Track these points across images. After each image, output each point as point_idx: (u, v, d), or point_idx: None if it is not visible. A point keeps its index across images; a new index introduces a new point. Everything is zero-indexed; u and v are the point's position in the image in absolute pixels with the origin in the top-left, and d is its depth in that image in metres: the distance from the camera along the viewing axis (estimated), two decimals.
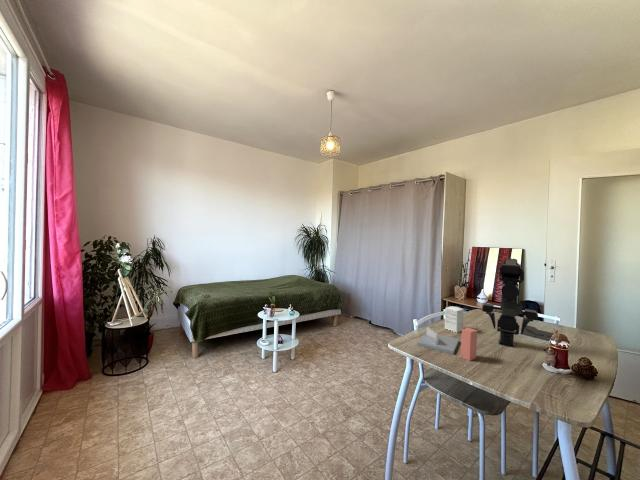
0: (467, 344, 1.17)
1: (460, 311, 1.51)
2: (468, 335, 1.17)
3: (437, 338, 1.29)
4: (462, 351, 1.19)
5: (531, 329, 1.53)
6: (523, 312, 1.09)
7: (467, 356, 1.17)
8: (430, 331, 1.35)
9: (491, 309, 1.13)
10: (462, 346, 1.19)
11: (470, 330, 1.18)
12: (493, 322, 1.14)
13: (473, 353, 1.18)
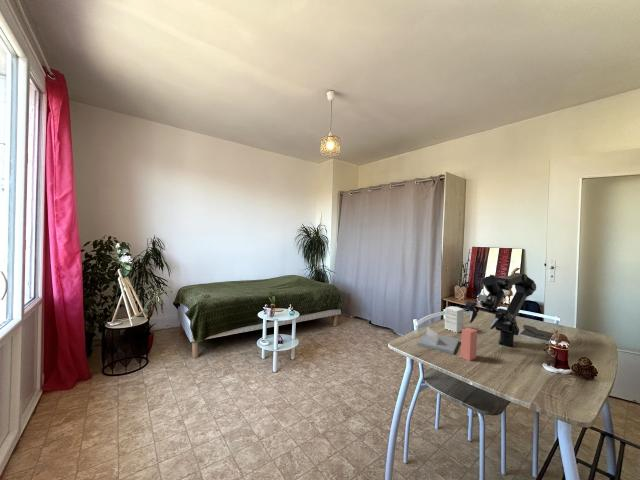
0: (467, 344, 1.17)
1: (460, 311, 1.51)
2: (468, 335, 1.17)
3: (437, 338, 1.29)
4: (462, 351, 1.19)
5: (531, 329, 1.53)
6: (499, 311, 1.22)
7: (467, 356, 1.17)
8: (430, 331, 1.35)
9: (472, 303, 1.30)
10: (462, 346, 1.19)
11: (470, 330, 1.18)
12: (470, 315, 1.28)
13: (473, 353, 1.18)
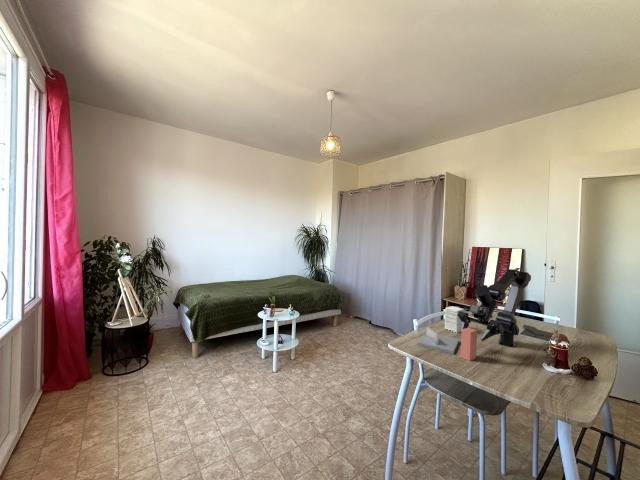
0: (467, 344, 1.17)
1: None
2: (468, 335, 1.17)
3: (437, 338, 1.29)
4: (462, 351, 1.19)
5: (531, 329, 1.53)
6: None
7: (467, 356, 1.17)
8: (430, 331, 1.35)
9: (464, 313, 1.27)
10: (462, 346, 1.19)
11: (470, 330, 1.18)
12: (462, 326, 1.25)
13: (473, 353, 1.18)
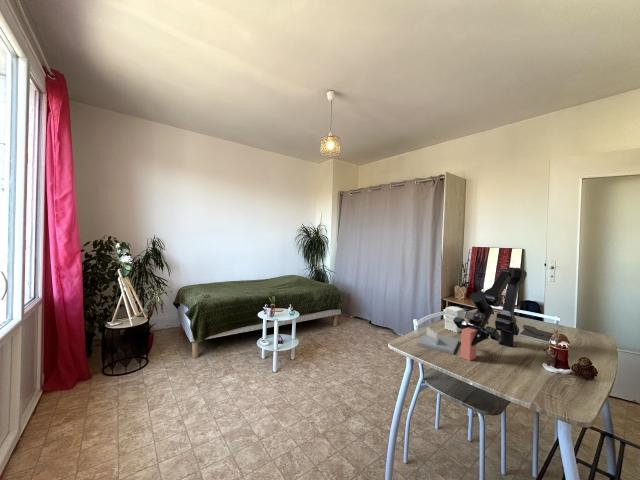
0: (467, 344, 1.17)
1: (460, 311, 1.51)
2: (468, 335, 1.17)
3: (437, 338, 1.29)
4: (462, 351, 1.19)
5: (531, 329, 1.53)
6: None
7: (467, 356, 1.17)
8: (430, 331, 1.35)
9: (460, 319, 1.25)
10: (462, 346, 1.19)
11: (470, 330, 1.18)
12: None
13: (473, 353, 1.18)
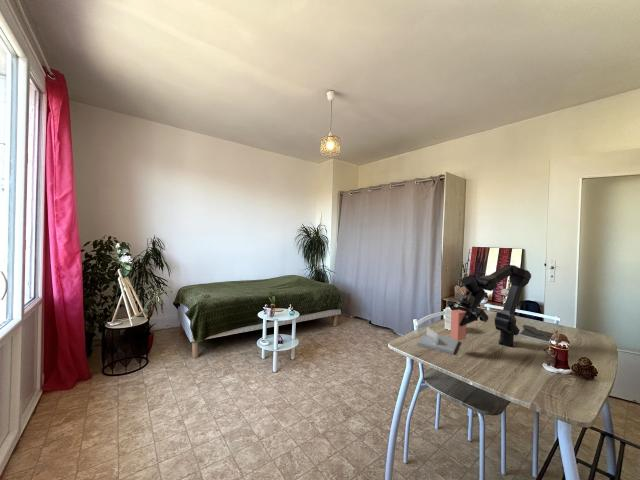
0: (455, 324, 1.22)
1: None
2: (456, 315, 1.22)
3: (437, 338, 1.29)
4: (451, 331, 1.24)
5: (531, 329, 1.53)
6: None
7: (456, 336, 1.22)
8: (430, 331, 1.35)
9: (452, 302, 1.30)
10: (451, 326, 1.24)
11: (459, 311, 1.23)
12: None
13: (462, 333, 1.22)
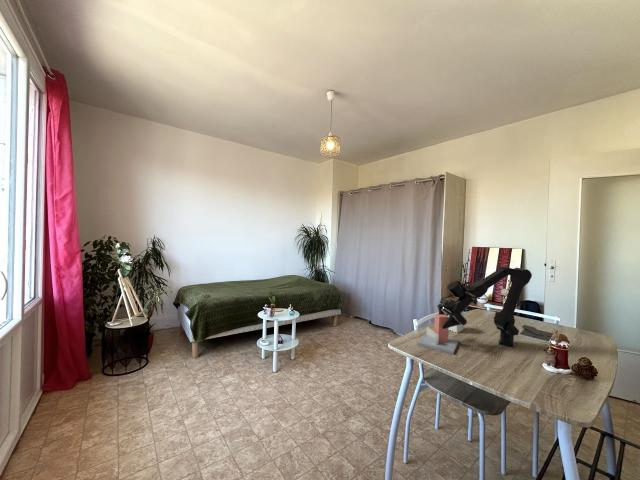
0: (437, 327, 1.33)
1: None
2: (438, 319, 1.33)
3: (437, 338, 1.29)
4: None
5: (530, 329, 1.53)
6: None
7: None
8: (430, 331, 1.35)
9: (441, 305, 1.40)
10: (435, 329, 1.35)
11: (442, 316, 1.33)
12: None
13: (443, 336, 1.32)
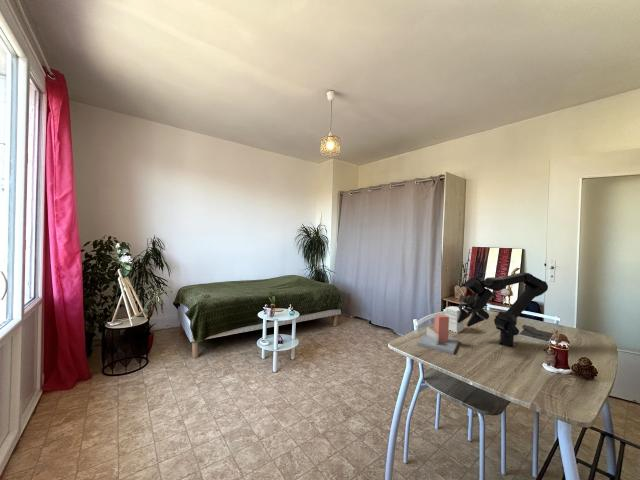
0: (437, 327, 1.33)
1: None
2: (438, 319, 1.33)
3: (437, 338, 1.29)
4: None
5: (530, 329, 1.53)
6: None
7: None
8: (430, 331, 1.35)
9: (462, 304, 1.39)
10: (435, 329, 1.35)
11: (442, 316, 1.33)
12: (459, 316, 1.38)
13: (443, 336, 1.32)
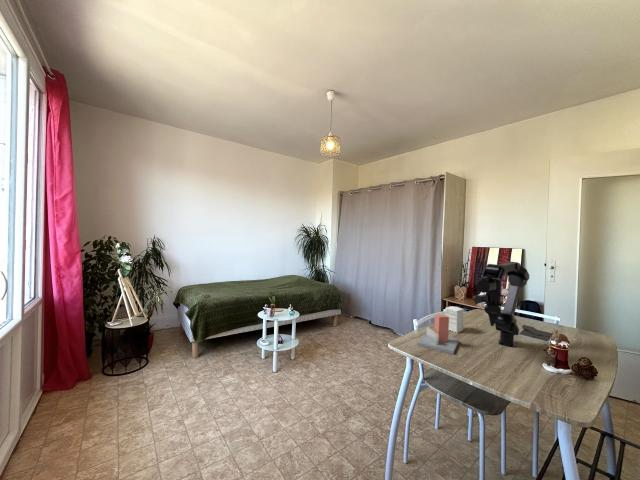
0: (437, 327, 1.33)
1: (460, 311, 1.51)
2: (438, 319, 1.33)
3: (437, 338, 1.29)
4: None
5: (530, 329, 1.53)
6: None
7: None
8: (430, 331, 1.35)
9: None
10: (435, 329, 1.35)
11: (442, 316, 1.33)
12: None
13: (443, 336, 1.32)
